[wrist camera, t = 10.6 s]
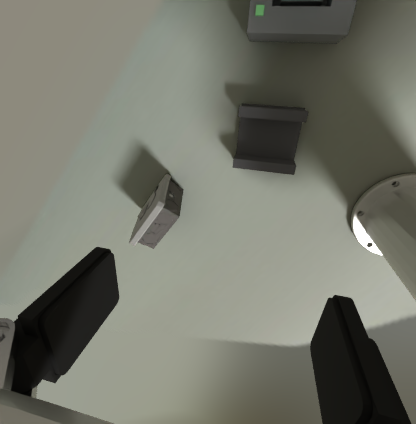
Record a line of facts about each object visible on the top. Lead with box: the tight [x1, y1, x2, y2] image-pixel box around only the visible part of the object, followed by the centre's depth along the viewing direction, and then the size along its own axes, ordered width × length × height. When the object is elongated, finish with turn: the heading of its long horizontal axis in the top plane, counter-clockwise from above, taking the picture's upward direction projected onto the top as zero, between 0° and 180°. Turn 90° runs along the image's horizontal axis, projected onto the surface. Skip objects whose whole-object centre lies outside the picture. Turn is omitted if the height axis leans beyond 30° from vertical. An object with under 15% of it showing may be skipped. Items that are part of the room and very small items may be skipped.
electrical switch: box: [129, 174, 183, 249], centre depth 38 cm, size 9×5×9 cm, turn 143°
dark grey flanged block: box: [233, 103, 308, 175], centre depth 32 cm, size 8×8×4 cm
